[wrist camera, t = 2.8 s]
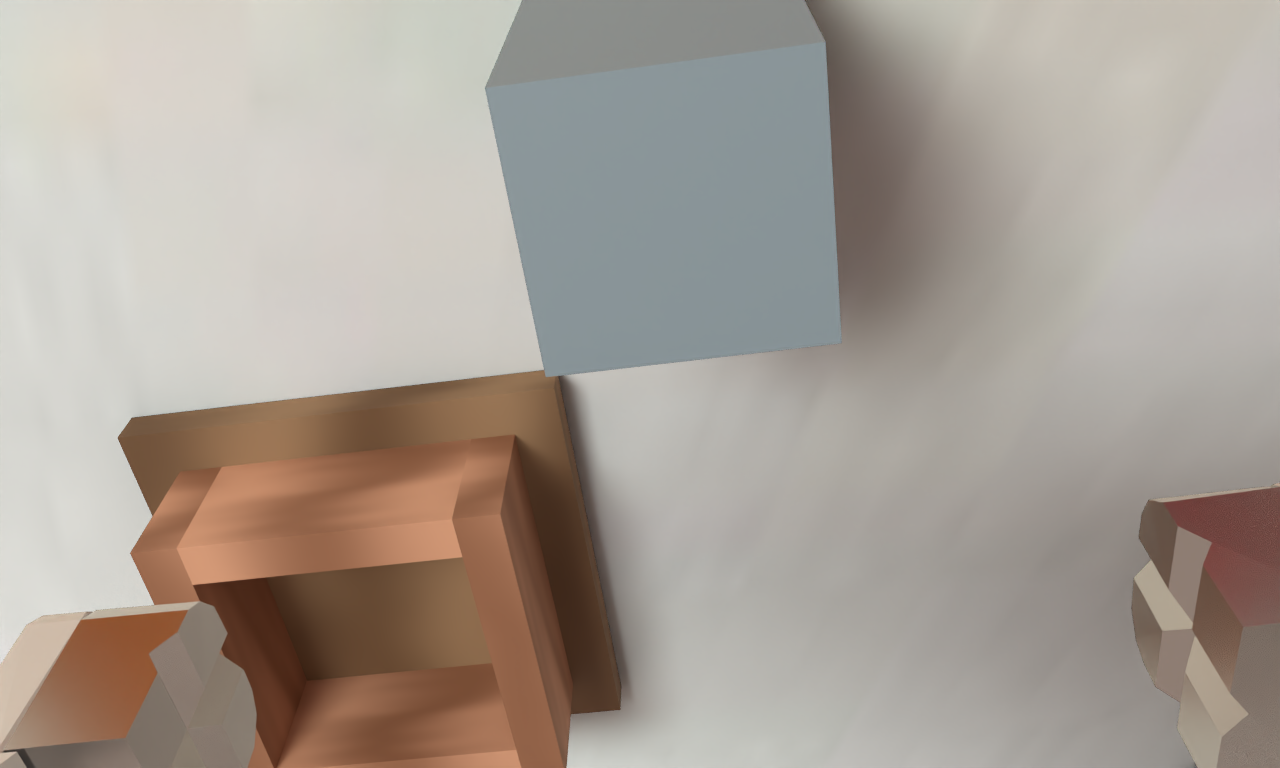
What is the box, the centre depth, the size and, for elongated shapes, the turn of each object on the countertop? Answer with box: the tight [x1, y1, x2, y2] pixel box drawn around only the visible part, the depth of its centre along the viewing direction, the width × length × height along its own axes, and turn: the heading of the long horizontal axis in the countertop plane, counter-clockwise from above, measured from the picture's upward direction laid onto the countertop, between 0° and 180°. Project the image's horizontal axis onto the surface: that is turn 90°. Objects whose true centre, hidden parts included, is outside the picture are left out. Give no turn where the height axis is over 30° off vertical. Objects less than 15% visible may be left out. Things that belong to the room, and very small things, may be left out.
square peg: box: [485, 0, 842, 377], centre depth 22 cm, size 5×5×10 cm
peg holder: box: [118, 370, 621, 768], centre depth 32 cm, size 12×12×4 cm
